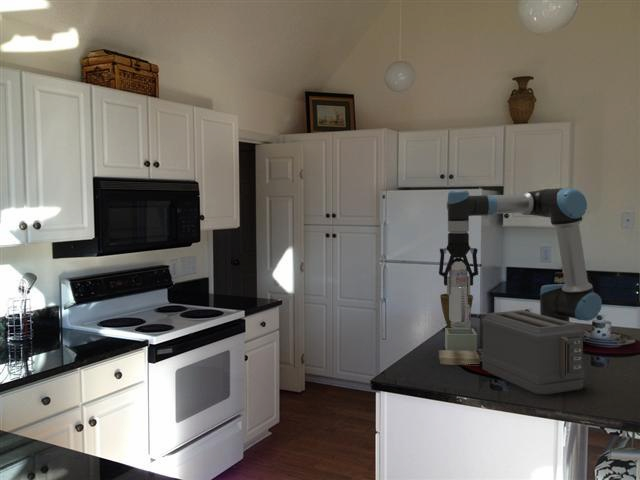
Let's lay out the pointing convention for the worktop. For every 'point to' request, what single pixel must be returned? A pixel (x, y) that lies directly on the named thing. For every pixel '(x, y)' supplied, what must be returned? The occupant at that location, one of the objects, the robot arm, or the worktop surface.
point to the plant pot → (446, 306)
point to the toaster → (533, 351)
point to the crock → (460, 339)
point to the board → (458, 357)
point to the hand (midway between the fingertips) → (458, 294)
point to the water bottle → (458, 291)
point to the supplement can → (463, 324)
